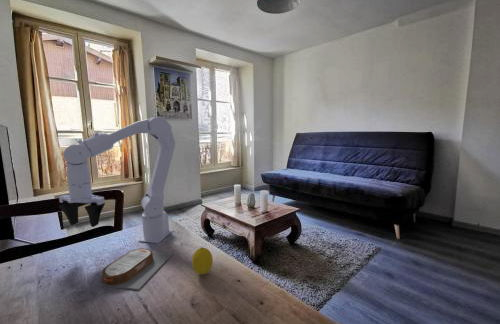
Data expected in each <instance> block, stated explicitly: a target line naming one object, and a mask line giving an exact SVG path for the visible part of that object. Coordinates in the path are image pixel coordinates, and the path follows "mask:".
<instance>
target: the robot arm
mask: <svg viewBox="0 0 500 324" xmlns="http://www.w3.org/2000/svg"><path fill="white" fill-rule="evenodd" d="M136 134H150V135H151V136H152V137H153V138H154V139H155V140H156V141H157V143H158V144H159V147H158V150H157V151H158V153H157V155H156V160H155V163H154V166H153V171H152V175H151V178H150V183H149V186H148V188H147V189H146V192H145V193H144V194H145V195H144V196H143V197H142V198H141V201H140V205H141V206H140V207H141V208H142V209H143V212H142V214H141V219H142V220H141V221H142V232H143V233H142V234H143V236H142V237H140V238H139V239H138V242H139V243H140V242H142V243H153V244H159V243H160V242H162V240H163V239H165V238H166V237H168V235H169V234H171V233H172V230H170V224H169V223H170V222H169V215H168V212H166V211H165V205H164V199H165V195H164V194H165V193H164V189H165V185H166V181H167V179H168V178H167V177H168V174H169V171H170V168H171V167H170V166H171V163H172V158H173V155H174V150H175V148H176V140H175V138H174V134H173V131H172V126H171V124H170V123H169V122H168V120H167V119H166V118H165V117H163V116H154V117H149V118H146V119H142V120H138V121H135V122H133V123H131V124H128V125H126V126H124V127H122V128H120V129H118V130H115V131H113V132H111V133H107V132H100V133H99V132H94V133H93V135H92V136H89V137H88V138H85V139H83V140H82V139H79V140H77V143H74V144H73V143H72V144H70V145H69V146H67V147H66V148H65V149H64V152H63V158H64V160H65V161H66V164H65V166H66V175H67V176H66V178H67V185H68V192H69V193H68V194H64V195H59V197H58V200H59V203H61V204H59V205H58V208H59V209H60V210H61V211H62V212H63V213H64V215H65V216H66V218H67V220H68V222H69V225H70V226H74V225H76V224H78V223H79V208H80V207H79V206H80V204H88V205H86V206H84V209H85V211H86V212H87V214H88V219H89V224H90V227H91V228H94V227H96V226H98V225H99V221H100V217H101V213H102V211H103V209H104V207H105V205H106V203H105V197H104V196H100V195H95V194H93V190H92V182H91V173H90V172H91V171H90V167H89V163H88V159H89V158H95V157H97V156H98V155H100V154H104V153H105V152H107V151H110V150H112V149H113V148H114V144H115V143H117V142H120V141H123V140H125V139H127V138H130V137H132V136H134V135H136Z"/></svg>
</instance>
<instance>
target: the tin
mask: <svg viewBox="0 0 500 324" xmlns="http://www.w3.org/2000/svg"><path fill="white" fill-rule="evenodd" d="M152 252H153V251H152V249H149V248H141V247H140V248H135V249H132V250H130V251H128V252H126V253H124V254H123V255H121V256H120V257H118V258H116V260H113V261H112V262H110V263H109V264H107V265H106V266H105V267H104V268H103V270H102V271H101V275H102V279H101V281H102V282H101V283H104V284H105V285H109V286H113V285H120V284H123V283H125V282H127V281H129V280H131V279H132V278H133V277H135V276H136V275H137V274H139V273H140V272H141V271H142V270H144V269H145V268H146V267H147V266H149V265H150V264H151V263H152V262H153V254H152Z"/></svg>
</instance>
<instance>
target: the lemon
mask: <svg viewBox="0 0 500 324" xmlns="http://www.w3.org/2000/svg"><path fill="white" fill-rule="evenodd" d="M213 262H214V261H213V255H212V253H211V251H210V250H209V248H206V247H203V246H202V247H200V248H198V249H197V250H195V251H194V253H193V255H192V260H191V265H192V269H193V270H194V272H195V273H196V274H199V275H202V276H204V275H205V274H207V273H209V272H210V271H211V269H212V267H213Z"/></svg>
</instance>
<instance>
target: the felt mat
mask: <svg viewBox="0 0 500 324" xmlns="http://www.w3.org/2000/svg"><path fill="white" fill-rule="evenodd" d="M152 254H153V262H152V263H151V264H150V265H149V266H147V267H146V268H145V269H144V270H142V271H141V272H140V273H139V274H137V275H136V276H135V277H133V278H132V279H131V280H129V281H127V282H125V283H123V284H120V285H113V286H109V285H105V284H104V283H103V282H101V283H100V286H103V287H108V288H109V287H111V288H118V289H124V290H125V289H126V290H131V291H132V290H133V291H140V290H141V289H142V288H143V287H144V286H145V284H147V283H148V282H149V281H150V279H151V278H152V277H153V276H154V275H155V274H156V273H158V271H159V270H160V269H161V268H162V266H164V265H165V263H167V261H168V260H169V259H170V258H171V257H172V256H173V253H168V252H167V253H166V252H158V251H152Z"/></svg>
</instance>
